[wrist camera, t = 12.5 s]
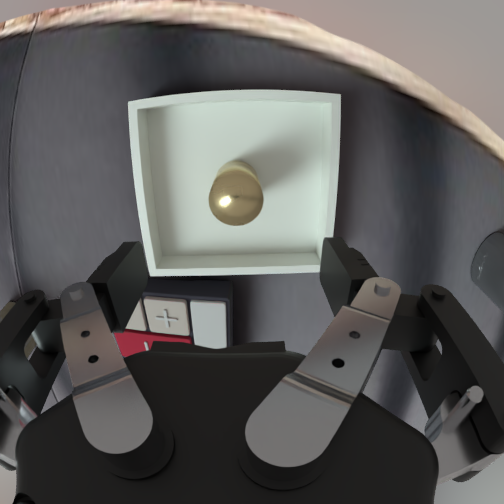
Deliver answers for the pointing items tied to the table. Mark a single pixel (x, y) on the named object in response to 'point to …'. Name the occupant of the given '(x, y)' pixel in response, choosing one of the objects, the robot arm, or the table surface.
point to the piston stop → (236, 194)
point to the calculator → (180, 315)
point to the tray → (231, 149)
